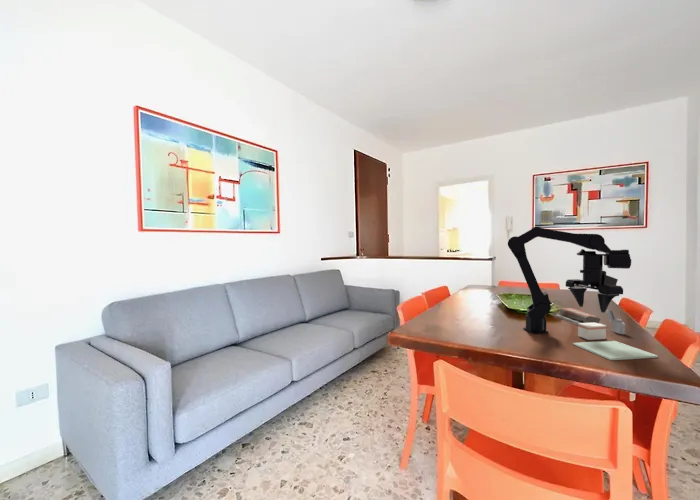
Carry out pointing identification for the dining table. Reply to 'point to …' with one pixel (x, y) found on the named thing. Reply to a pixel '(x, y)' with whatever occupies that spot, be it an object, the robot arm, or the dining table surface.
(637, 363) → the dining table surface
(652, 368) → the dining table surface
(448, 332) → the dining table surface
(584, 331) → the white box
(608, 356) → the mat
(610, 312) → the lighter
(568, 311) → the packaged product
